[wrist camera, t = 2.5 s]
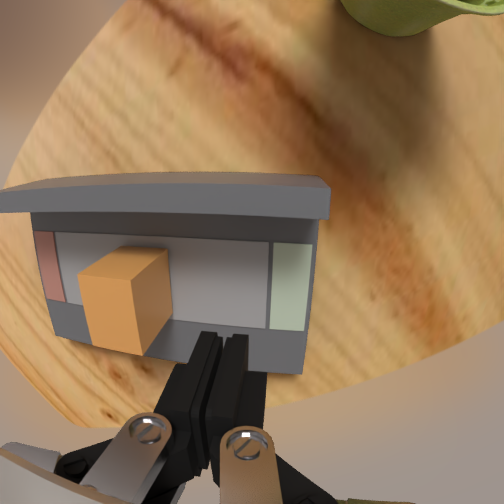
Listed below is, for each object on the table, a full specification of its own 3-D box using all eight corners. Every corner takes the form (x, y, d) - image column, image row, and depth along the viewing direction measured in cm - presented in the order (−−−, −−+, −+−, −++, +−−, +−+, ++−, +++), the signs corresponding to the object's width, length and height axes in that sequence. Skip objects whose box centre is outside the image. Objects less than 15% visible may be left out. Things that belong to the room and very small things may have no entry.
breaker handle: (167, 248, 17) (130, 280, 13) (172, 312, 18) (142, 355, 14) (121, 245, 17) (77, 274, 13) (129, 306, 19) (92, 345, 14)
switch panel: (318, 175, 17) (331, 188, 11) (301, 356, 21) (301, 419, 15) (45, 179, 19) (-14, 194, 14) (68, 323, 23) (26, 362, 17)
